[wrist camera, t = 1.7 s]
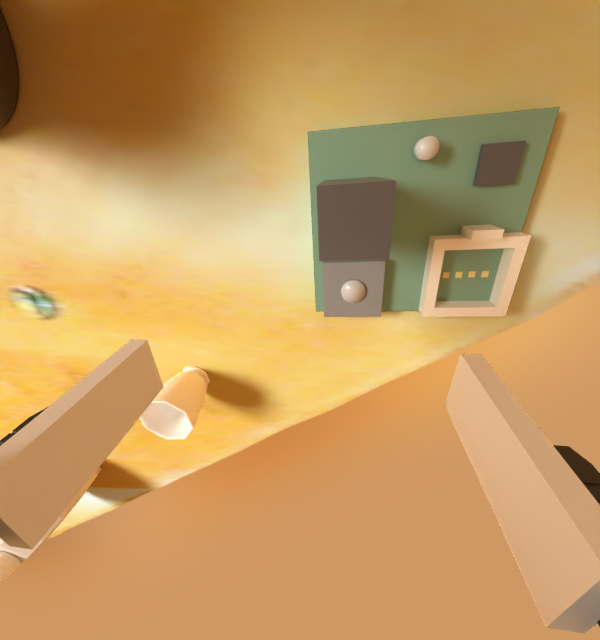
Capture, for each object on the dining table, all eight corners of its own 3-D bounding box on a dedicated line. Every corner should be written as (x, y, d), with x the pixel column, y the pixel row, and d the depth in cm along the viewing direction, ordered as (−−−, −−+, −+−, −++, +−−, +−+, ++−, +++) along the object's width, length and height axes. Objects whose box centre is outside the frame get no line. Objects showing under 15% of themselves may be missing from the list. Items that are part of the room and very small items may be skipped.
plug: (323, 180, 25) (316, 186, 16) (375, 176, 24) (396, 180, 15) (325, 232, 27) (319, 262, 18) (372, 230, 26) (389, 259, 18)
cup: (228, 385, 40) (205, 431, 33) (181, 407, 44) (151, 453, 37) (195, 350, 38) (163, 392, 31) (149, 376, 41) (110, 419, 34)
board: (309, 133, 24) (305, 129, 22) (549, 109, 22) (576, 102, 19) (316, 306, 32) (314, 318, 30) (492, 305, 30) (506, 317, 27)
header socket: (431, 227, 26) (439, 232, 23) (523, 222, 24) (540, 227, 22) (418, 309, 30) (424, 320, 28) (497, 309, 29) (509, 320, 26)
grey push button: (323, 256, 29) (322, 263, 27) (417, 252, 28) (424, 260, 26) (325, 306, 32) (324, 318, 30) (410, 305, 31) (416, 317, 28)
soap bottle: (83, 449, 53) (-42, 586, 35) (107, 463, 54) (-1, 602, 37) (54, 476, 59) (-64, 604, 42) (76, 489, 61) (-28, 617, 43)
